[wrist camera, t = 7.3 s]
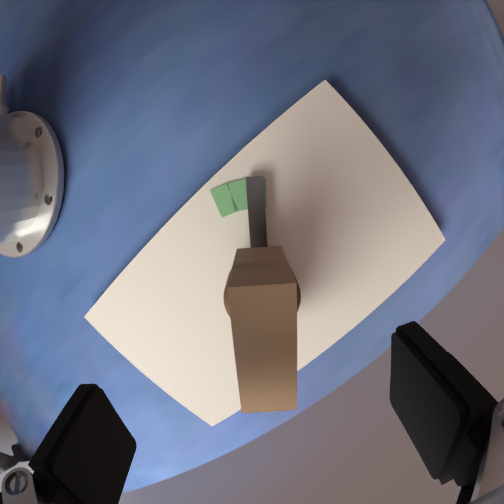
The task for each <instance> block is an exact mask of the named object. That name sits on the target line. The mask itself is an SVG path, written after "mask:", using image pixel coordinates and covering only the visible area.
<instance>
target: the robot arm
mask: <svg viewBox="0 0 504 504" xmlns="http://www.w3.org/2000/svg"><path fill="white" fill-rule="evenodd" d="M6 82H7V77H6V76H5V75H0V254H2V255H4V256H8V257H12V258H14V257H22V256H24V255H27V254H29V253H31V252H33V251H35V250H36V249H38V248H39V247H40V246H41V245H42V244H43V243H44V242H45V241H46V239H47V238H48V236H49V235H50V233H51V232H52V230H53V227H54V225H55V223H56V221H57V218H58V215H59V211H60V207H61V204H62V197H63V190H64V166H63V157H62V152H61V148H60V144H59V141H58V139H57V136H56V134H55V132H54V130H53V129H52V127H51V126H50V124H49V123H48V122H47V121H46V120H45V119H44V118H43V117H41V116H39V115H37V114H35V113H32V112H27V111H15V112H12V113H9V107H8V106H6V105H5V96H6ZM390 401H391V405H392V407H393V408H394V410H395V412H396V414H397V415H398V417H399V419H400V420H401V422H402V424H403V426H404V428H405V429H406V431H407V433H408V435H409V437H410V438H411V440H412V442H413V444H414V445H415V447H416V449H417V451H418V453H419V455H420V456H421V458H422V460H423V462H424V463H425V466H426V467H427V469H428V471H429V473H430V475H431V476H432V478H433V479H439V480H440V482H441V484H442V485H443V484H445V483H447V482H448V481H450V480H452V479H454V481H455V482H456V484H457V486H459V487H458V490H457V493H456V497H455V500H454V502H453V504H504V398H503V399H502V400H501V401H500V402H497V401H496V400H495V399H494V398H493V397H492V396H491V395H490V393H489V392H488V391H487V390H486V389H485V388H484V387H483V386H482V385H481V384H480V383H479V382H478V381H477V380H476V379H475V378H474V377H473V376H472V375H471V374H470V373H469V371H468V370H467V369H465V367H464V366H463V365H462V364H461V363H460V362H459V361H457V359H456V358H455V357H454V356H452V355H451V354H450V353H449V352H447V351H446V350H444V348H443V347H441V346H440V345H439V344H438V343H437V342H436V341H435V340H434V339H433V338H432V337H431V336H430V335H429V334H428V333H427V332H426V331H425V330H424V329H423V328H422V327H421V326H420V325H419V324H418V323H417V322H415V321H412V322H409V323H407V324H404V325H401V326H398V327H397V328H396V332H395V333H393V334H392V337H391V381H390ZM135 451H136V441H135V439H134V438H133V436H132V435H131V433H130V432H129V431H128V429H127V428H126V426H125V425H124V423H123V422H122V420H121V419H120V417H119V415H118V414H117V412H116V411H115V409H114V408H113V406H112V404H111V403H110V401H109V399H108V398H107V396H106V394H105V393H104V391H103V390H102V389H101V388H99V387H98V386H97V385H96V384H81V385H79V386H78V388H77V389H76V391H75V392H74V394H73V395H72V396H71V398H70V399H69V401H68V402H67V404H66V405H65V407H64V408H63V410H62V411H61V413H60V414H59V416H58V417H57V419H56V420H55V422H54V424H53V425H52V427H51V428H50V430H49V431H48V433H47V434H46V436H45V438H44V439H43V441H42V442H41V444H40V446H39V447H38V449H37V451H36V452H35V454H34V455H33V457H32V459H31V460H30V462H29V464H28V465H29V466H30V467H31V468H32V470H33V471H34V473H33V474H32V473H31V472H30V471H29V470H28V469H25V468H20V467H19V468H15V469H13V470H11V471H10V472H8V473H7V474H6V476H5V477H4V479H3V481H2V492H1V493H0V504H118V503H119V499H120V496H121V493H122V490H123V487H124V484H125V481H126V478H127V475H128V472H129V469H130V466H131V463H132V460H133V457H134V454H135Z"/></svg>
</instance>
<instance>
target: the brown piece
mask: <svg viewBox="0 0 504 504" xmlns="http://www.w3.org/2000/svg"><path fill="white" fill-rule="evenodd" d="M246 191H247V205H248V219H249V233H250V247H251V248H239V249H237V250H236V254H235V258H234V262H233V266H232V268H231V270H230V272H229V275H228V278H227V282H226V286H225V290H224V296H223V298H224V306H225V309H226V311H227V313H228V315H229V317H230V319H231V328H232V337H233V346H234V354H235V363H236V371H237V379H238V388H239V395H240V403H241V411H242V413H253V412H272V411H285V410H296V409H297V311H298V309H299V306H300V302H301V291H300V287H299V284H298V282H297V279H296V277H295V275H294V272H293V270H292V268H291V267H290V265H289V263H288V261H287V258H286V256H285V253H284V251H283V248H282V246H270V247H268V246H267V229H266V213H265V197H264V182H263V176H252V177H246Z"/></svg>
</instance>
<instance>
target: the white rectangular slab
mask: <svg viewBox="0 0 504 504" xmlns="http://www.w3.org/2000/svg"><path fill="white" fill-rule="evenodd" d="M252 176H263V182H264V197H265V213H266V229H267V246H268V247H270V246H282V248H283V251H284V253H285V256H286V258H287V261H288V263H289V265H290V267H291V268H292V270H293V272H294V275H295V277H296V279H297V282H298V284H299V287H300V291H301V302H300V306H299V309H298V311H297V371H298V370H300V369H301V368H303V367H304V366H305V365H307V364H308V363H309V362H311V361H312V360H313V359H315V358H316V357H317V356H319V355H320V354H321V353H322V352H324V351H325V350H326V349H328V348H329V347H330V346H331V345H333V344H334V343H335V342H336V341H338V340H339V339H340V338H341V337H343V336H344V335H345V334H346V333H348V332H349V331H350V330H351V329H352V328H354V327H355V326H356V325H357V324H358V323H360V322H361V321H362V320H363V319H364V318H365V317H367V316H368V315H369V314H370V313H371V312H372V311H373V310H375V309H376V308H377V307H378V306H379V305H380V304H381V303H382V302H384V301H385V300H386V299H387V298H388V297H389V296H390V295H391V294H392V293H393V292H394V291H395V290H397V289H398V288H399V287H400V286H401V285H402V284H403V283H404V282H405V281H406V280H407V279H408V278H409V277H410V276H411V275H412V274H413V273H414V272H415V271H416V270H417V269H418V268H419V267H420V266H421V265H422V264H423V263H424V262H425V261H426V260H427V259H428V258H429V257H430V256H431V255H432V254H433V253H434V252H435V251H436V250H437V249H438V248H439V247H440V245H441V244H442V243H443V242H444V241H445V238H444V236H443V234H442V233H441V231H440V229H439V227H438V226H437V224H436V222H435V221H434V219H433V217H432V216H431V214H430V212H429V211H428V209H427V208H426V206H425V204H424V203H423V201H422V200H421V198H420V197H419V195H418V194H417V192H416V191H415V189H414V188H413V186H412V185H411V183H410V182H409V180H408V179H407V177H406V176H405V175H404V173H403V172H402V170H401V169H400V168H399V166H398V165H397V163H396V162H395V161H394V159H393V158H392V157H391V155H390V154H389V153H388V151H387V150H386V149H385V148H384V146H383V145H382V144H381V142H380V141H379V140H378V139H377V137H376V136H375V135H374V134H373V132H372V131H371V130H370V129H369V128H368V126H367V125H366V124H365V123H364V122H363V120H362V119H361V118H360V117H359V116H358V115H357V113H356V112H355V111H354V110H353V109H352V108H351V107H350V105H349V104H348V103H347V102H346V101H345V100H344V99H343V98H342V97H341V96H340V95H339V93H338V92H337V91H336V90H335V89H334V88H333V87H332V86H331V85H330V84H329V83H328V82H327V81H326V80H324V81H323V82H321V83H320V84H319V85H318V86H316V87H315V88H314V89H313V90H311V91H310V92H309V93H308V94H306V95H305V96H304V97H303V98H301V99H300V100H299V101H298V102H296V103H295V104H294V105H293V106H292V107H290V108H289V109H288V110H287V111H286V112H284V113H283V114H282V115H281V116H280V117H278V118H277V119H276V120H275V121H274V122H273V123H271V124H270V125H269V126H268V127H267V128H266V129H265V130H263V131H262V132H261V133H260V134H259V135H258V136H257V137H255V138H254V139H253V140H252V141H251V142H250V143H249V144H248V145H247V146H245V147H244V148H243V149H242V150H241V151H240V152H239V153H238V154H237V155H236V156H234V157H233V158H232V159H231V160H230V161H229V162H228V163H227V164H226V165H225V166H224V167H223V168H222V169H221V170H219V171H218V172H217V173H216V174H215V175H214V176H213V177H212V178H211V179H210V180H209V181H208V182H207V183H206V184H205V185H204V186H203V187H202V188H201V189H200V190H199V191H198V192H197V193H196V194H195V195H194V196H193V197H192V198H191V199H190V200H189V201H188V202H187V203H186V204H185V205H184V206H183V207H182V208H181V209H180V210H179V211H178V212H177V213H176V214H175V215H174V216H173V217H172V218H171V219H170V220H169V221H168V222H167V223H166V224H165V225H164V226H163V227H162V228H161V230H160V231H159V232H158V233H157V234H156V235H155V236H154V237H153V238H152V239H151V240H150V241H149V242H148V243H147V245H146V246H145V247H144V248H143V249H142V250H141V251H140V252H139V253H138V254H137V256H136V257H135V258H134V259H133V260H132V261H131V262H130V263H129V264H128V266H127V267H126V268H125V269H124V270H123V271H122V272H121V274H120V275H119V276H118V277H117V278H116V279H115V281H114V282H113V283H112V284H111V285H110V286H109V288H108V289H107V290H106V291H105V292H104V294H103V295H102V296H101V297H100V298H99V300H98V301H97V302H96V303H95V304H94V306H93V307H92V308H91V309H90V311H89V312H88V313H87V314H86V315H85V318H86V319H87V320H88V321H89V323H90V324H91V325H92V326H93V327H94V328H95V329H96V330H97V331H98V332H99V333H100V334H101V335H102V336H103V337H104V338H105V339H106V340H107V341H108V342H109V343H110V344H112V345H113V346H114V347H115V348H116V349H117V350H118V351H119V352H120V353H121V354H122V355H123V356H124V357H125V358H126V359H128V360H129V361H130V362H131V363H132V364H133V365H134V366H135V367H137V368H138V369H139V370H140V371H141V372H142V373H143V374H145V375H146V376H147V377H148V378H149V379H151V380H152V381H153V382H154V383H155V384H157V385H158V386H159V387H160V388H161V389H163V390H164V391H165V392H166V393H168V394H169V395H170V396H172V397H173V398H174V399H175V400H177V401H178V402H179V403H181V404H182V405H183V406H185V407H186V408H187V409H189V410H190V411H191V412H193V413H194V414H195V415H197V416H198V417H200V418H201V419H203V420H204V421H205V422H207V423H208V424H210V425H211V426H214V425H216V424H217V423H219V422H221V421H222V420H224V419H226V418H227V417H229V416H231V415H232V414H234V413H236V412H237V411H239V410H240V409H241V403H240V395H239V388H238V379H237V371H236V363H235V354H234V346H233V337H232V328H231V319H230V317H229V315H228V313H227V311H226V309H225V306H224V298H223V296H224V290H225V286H226V282H227V278H228V275H229V272H230V270H231V268H232V266H233V262H234V258H235V254H236V250H237V249H239V248H251V247H250V233H249V219H248V205H247V191H246V177H252Z"/></svg>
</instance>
